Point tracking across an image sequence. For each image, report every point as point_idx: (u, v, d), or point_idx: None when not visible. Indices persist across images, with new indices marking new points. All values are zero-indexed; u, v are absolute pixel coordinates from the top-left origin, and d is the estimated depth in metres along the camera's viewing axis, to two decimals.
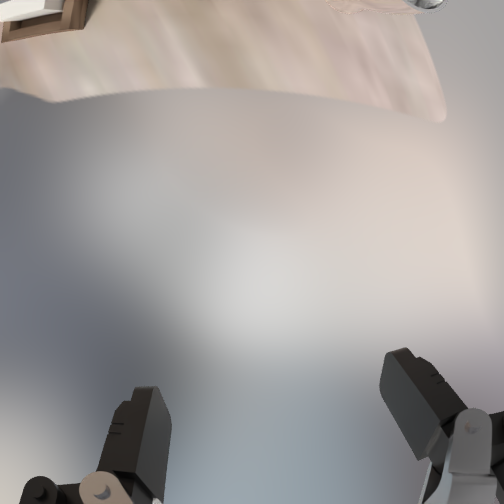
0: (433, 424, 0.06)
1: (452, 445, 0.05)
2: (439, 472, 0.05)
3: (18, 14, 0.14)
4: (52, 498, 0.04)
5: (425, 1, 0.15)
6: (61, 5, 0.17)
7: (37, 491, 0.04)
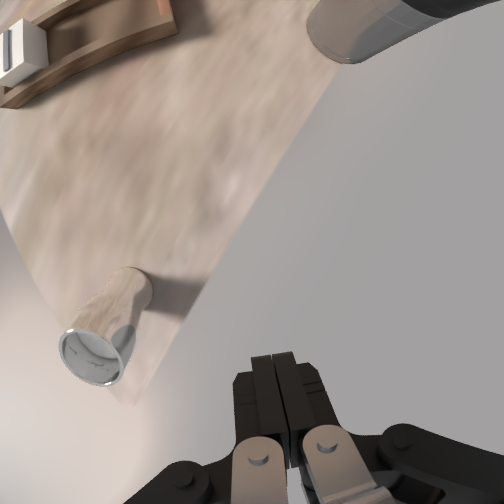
0: None
1: (313, 474, 0.05)
2: None
3: None
4: (203, 482, 0.05)
5: (111, 365, 0.26)
6: (14, 85, 0.23)
7: (182, 479, 0.05)
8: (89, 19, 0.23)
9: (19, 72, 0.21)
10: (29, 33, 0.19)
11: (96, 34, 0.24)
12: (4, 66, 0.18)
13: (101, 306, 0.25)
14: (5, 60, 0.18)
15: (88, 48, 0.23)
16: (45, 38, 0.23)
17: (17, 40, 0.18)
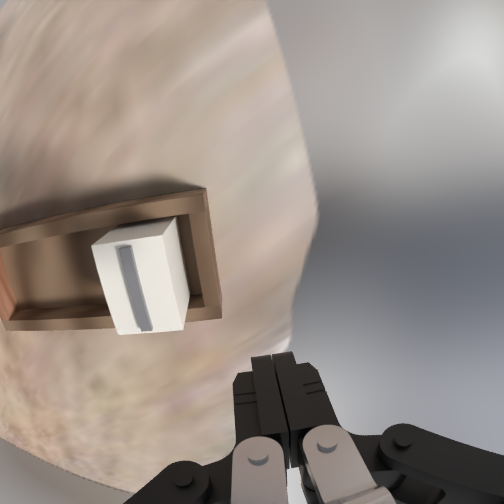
0: None
1: (313, 474, 0.05)
2: None
3: (171, 284, 0.19)
4: (203, 482, 0.05)
5: None
6: (164, 222, 0.21)
7: (182, 479, 0.05)
8: (73, 284, 0.25)
9: (123, 234, 0.19)
10: None
11: (59, 255, 0.23)
12: (129, 257, 0.17)
13: None
14: (128, 267, 0.18)
15: (41, 231, 0.20)
16: None
17: (116, 297, 0.19)
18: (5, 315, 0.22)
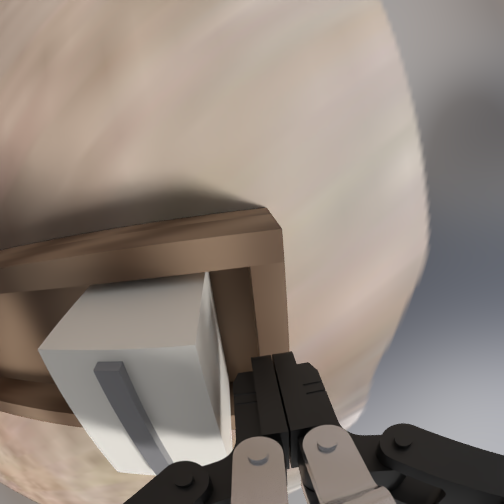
0: None
1: (313, 474, 0.05)
2: None
3: (214, 425, 0.08)
4: (203, 482, 0.05)
5: None
6: (187, 283, 0.11)
7: (182, 479, 0.05)
8: None
9: (103, 320, 0.08)
10: None
11: (19, 314, 0.13)
12: (120, 386, 0.07)
13: None
14: (121, 403, 0.07)
15: None
16: None
17: (105, 433, 0.08)
18: None
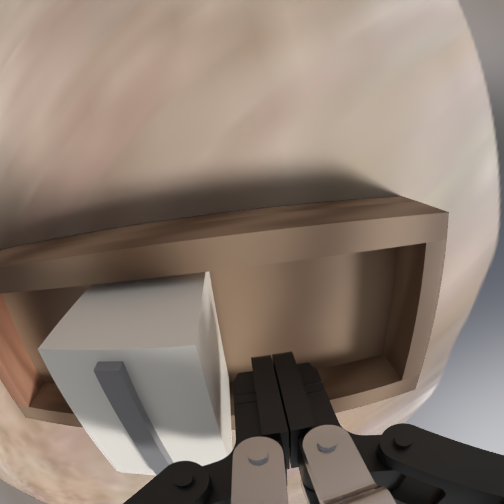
0: None
1: (313, 474, 0.05)
2: None
3: (215, 425, 0.08)
4: (203, 482, 0.05)
5: None
6: (187, 283, 0.11)
7: (182, 479, 0.05)
8: None
9: (103, 320, 0.08)
10: None
11: None
12: (120, 386, 0.07)
13: None
14: (121, 403, 0.07)
15: (94, 269, 0.10)
16: None
17: (106, 433, 0.08)
18: (22, 400, 0.12)
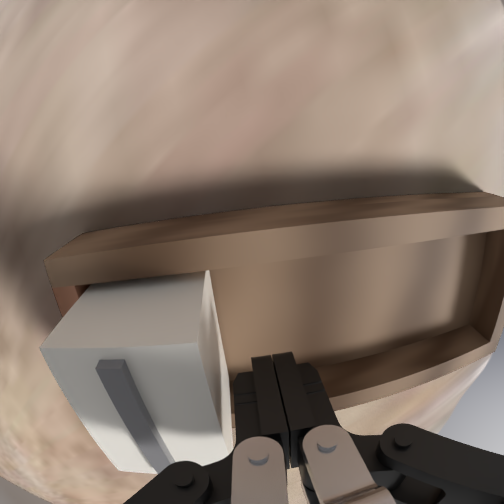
0: None
1: (313, 474, 0.05)
2: None
3: (216, 423, 0.08)
4: (203, 482, 0.05)
5: None
6: (187, 281, 0.11)
7: (183, 479, 0.05)
8: (295, 338, 0.15)
9: (104, 318, 0.08)
10: None
11: (278, 289, 0.14)
12: (122, 384, 0.07)
13: None
14: (123, 401, 0.07)
15: (296, 243, 0.10)
16: None
17: (107, 431, 0.08)
18: None
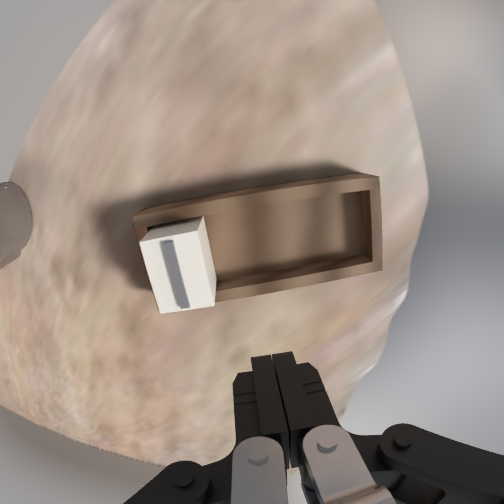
0: None
1: (313, 474, 0.05)
2: None
3: (204, 269, 0.25)
4: (203, 482, 0.05)
5: None
6: (194, 221, 0.27)
7: (182, 479, 0.05)
8: (247, 254, 0.31)
9: (163, 232, 0.25)
10: None
11: (236, 228, 0.30)
12: (171, 249, 0.23)
13: None
14: (171, 257, 0.24)
15: (235, 203, 0.27)
16: None
17: (160, 282, 0.25)
18: None
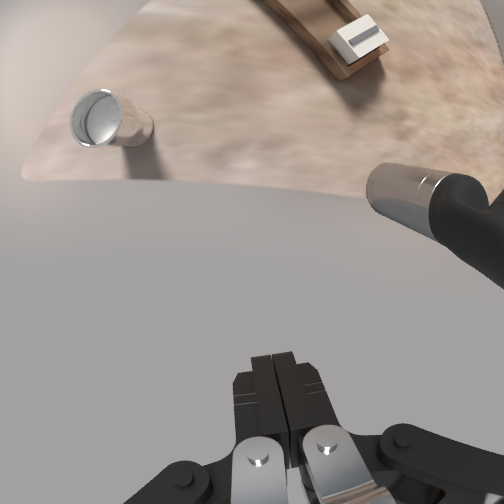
0: None
1: (313, 473, 0.05)
2: None
3: (352, 22, 0.30)
4: (203, 482, 0.05)
5: (85, 138, 0.29)
6: (330, 42, 0.35)
7: (182, 479, 0.05)
8: (329, 15, 0.35)
9: (346, 51, 0.33)
10: None
11: (319, 25, 0.36)
12: (352, 39, 0.31)
13: (134, 110, 0.30)
14: (357, 38, 0.31)
15: (308, 25, 0.33)
16: None
17: (372, 42, 0.32)
18: (379, 48, 0.35)
